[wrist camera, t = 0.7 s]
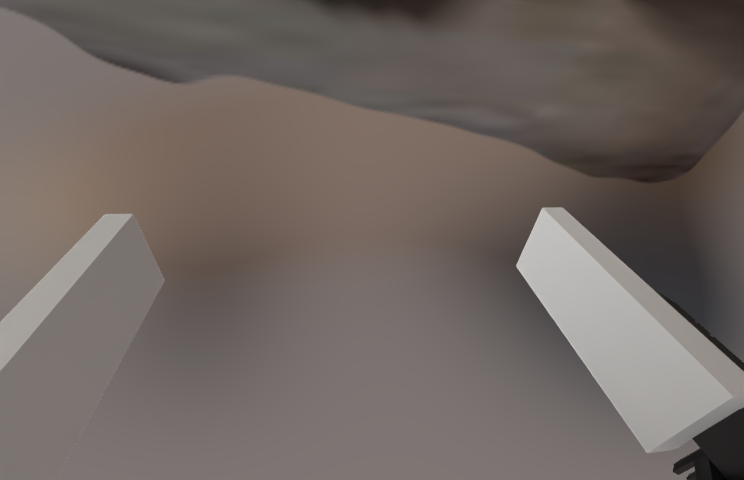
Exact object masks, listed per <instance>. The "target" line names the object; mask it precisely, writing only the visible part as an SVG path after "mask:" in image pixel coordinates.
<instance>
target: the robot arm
mask: <svg viewBox="0 0 744 480" xmlns="http://www.w3.org/2000/svg"><path fill="white" fill-rule="evenodd" d="M516 267H517V268H518V270H519V271H520V272H521V274H522V275H523V277H524V278H525V280H526V281H527V282H528V284H529V285H530V287H531V288H532V290H533V291H534V292H535V294H536V295H537V297H538V298H539V300H540V301H541V302H542V304H543V305H544V307H545V308H546V309H547V311H548V312H549V314H550V315H551V317H552V318H553V319H554V321H555V322H556V324H557V325H558V327H559V328H560V329H561V331H562V332H563V334H564V335H565V336H566V338H567V339H568V341H569V342H570V344H571V345H572V347H573V348H574V349H575V351H576V352H577V354H578V355H579V357H580V358H581V359H582V361H583V362H584V363H585V365H586V367H587V368H588V369H589V371H590V372H591V374H592V375H593V376H594V378H595V379H596V381H597V382H598V384H599V385H600V386H601V388H602V389H603V391H604V392H605V394H606V395H607V396H608V398H609V399H610V401H611V402H612V404H613V405H614V406H615V408H616V409H617V411H618V412H619V414H620V415H621V416H622V418H623V419H624V421H625V422H626V424H627V425H628V426H629V428H630V429H631V431H632V432H633V434H634V435H635V436H636V438H637V439H638V441H639V442H640V444H641V445H642V446H643V448H644V449H645V451H646V452H647V453H652V452H660V451H667V450H675V449H676V448H678V447H680V446H681V445H683V444H685V443H686V442H688V441H690V440H691V439H693V440H694V441H695V442H696V443H697V444H698V446H699V447H700V449H698V450H696V451H695V452H693V453H691V454H689V455H687V456H686V457H684V458H682V459H680V460H679V461H678V462H676V463H675V464H674V468H673V472H674V473H676V474H678V475H679V474H681V473H683V472H685V471H687V470H689V469H690V468H692V467H694V466H695V471H694V472H693V473H691V474H689V475H688V477H687V480H744V363H743V362H742V361H741V360H740V359H739V358H737V357H736V356H735V355H734V354H733V353H732V352H730V351H729V350H728V349H727V348H726V347H725V346H724V345H723V344H722V343H720V342H719V341H718V340H717V339H716V338H715V337H711V336H710V333H709V332H708V331H707V330H706V329H705V328H704V327H702V326H701V325H700V324H699V323H695V320H694V319H693V318H692V317H691V316H690V315H689V314H688V313H687V312H685V311H684V310H683V309H682V308H681V307H680V306H679V305H678V304H676V303H675V302H673V301H671V300H670V299H668V298H666V297H665V296H663V295H661V294H660V293H658V292H657V291H654V290H653V289H652V288H651V287H650V286H648V284H646V283H645V282H644V281H643V280H642V279H641V278H640V277H639V276H638V275H636V274H635V273H634V272H633V271H632V270H631V269H630V268H629V267H627V265H625V264H624V263H623V262H622V261H621V260H620V259H619V258H618V257H617V256H616V255H614V254H613V253H612V252H611V251H610V250H609V249H608V248H607V247H605V246H604V245H603V244H602V243H601V242H600V241H599V240H598V239H597V238H596V237H595V236H593V235H592V234H591V233H590V232H589V231H588V230H587V229H586V228H585V227H583V226H582V225H581V224H580V223H579V222H578V221H577V220H576V219H575V218H574V217H572V216H571V215H570V214H569V213H568V212H567V211H566V210H565V209H564V208H563V207H559V208H558V207H557V208H542V210H541V212H540V214H539V216H538V219H537V221H536V223H535V225H534V228H533V230H532V232H531V234H530V236H529V239H528V241H527V243H526V245H525V248H524V250H523V252H522V254H521V256H520V258H519V261H518V263H517V265H516ZM164 281H165V280H164V278H163V276H162V274H161V272H160V269H159V267H158V265H157V263H156V261H155V259H154V257H153V255H152V253H151V250H150V248H149V246H148V244H147V242H146V240H145V238H144V235H143V233H142V231H141V229H140V227H139V225H138V223H137V221H136V219H135V217H134V214H105V215H104V216H103V217H102V218H101V219H100V220H99V221H98V222H97V223H96V224H95V225H94V226H93V227H92V228H91V229H90V230H89V231H88V232H87V233H86V234H85V235H84V236H83V237H82V238H81V239H80V241H78V242H77V243H76V244H75V245H74V247H72V248H71V250H70V251H69V252H68V253H67V254H66V255H65V256H64V257H63V258H62V259H61V260H60V261H59V262H58V263H57V264H56V265H55V266H54V267H53V268H52V269H51V270H50V271H49V272H48V273H47V274H46V275H45V276H44V277H43V278H42V279H41V280H40V281H39V283H38V284H37V285H36V286H35V287H34V288H33V289H32V290H31V291H30V292H29V293H28V294H27V295H26V296H25V297H24V298H23V299H22V300H21V301H20V302H19V303H18V304H17V305H16V306H15V307H14V308H13V309H12V310H11V311H10V312H9V314H8V315H6V317H5V318H4V319H3V320H2V321H1V322H0V480H57V478H58V476H59V474H60V472H61V471H62V469H63V467H64V465H65V463H66V461H67V460H68V458H69V456H70V454H71V452H72V450H73V449H74V447H75V445H76V443H77V441H78V439H79V437H80V436H81V434H82V432H83V430H84V428H85V426H86V425H87V423H88V421H89V419H90V417H91V415H92V413H93V412H94V410H95V408H96V406H97V404H98V402H99V401H100V399H101V397H102V395H103V393H104V391H105V390H106V388H107V386H108V384H109V382H110V380H111V378H112V377H113V375H114V373H115V371H116V369H117V367H118V366H119V364H120V362H121V360H122V358H123V356H124V354H125V352H126V351H127V349H128V347H129V345H130V344H131V341H132V340H133V338H134V336H135V334H136V332H137V331H138V329H139V327H140V325H141V323H142V321H143V319H144V318H145V316H146V314H147V312H148V310H149V308H150V307H151V305H152V303H153V301H154V299H155V297H156V296H157V294H158V292H159V290H160V288H161V286H162V284H163V283H164Z"/></svg>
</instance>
